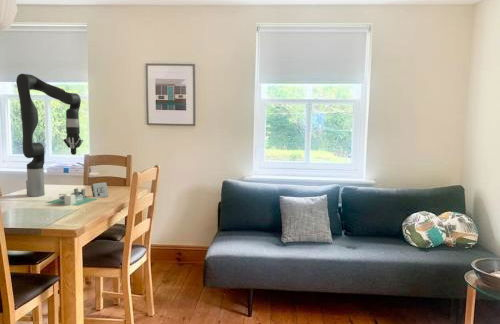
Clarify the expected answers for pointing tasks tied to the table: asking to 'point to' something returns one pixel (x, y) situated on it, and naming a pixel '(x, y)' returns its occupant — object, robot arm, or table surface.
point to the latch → (68, 198)
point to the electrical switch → (99, 190)
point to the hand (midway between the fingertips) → (73, 154)
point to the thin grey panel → (71, 194)
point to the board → (76, 202)
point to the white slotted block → (77, 198)
